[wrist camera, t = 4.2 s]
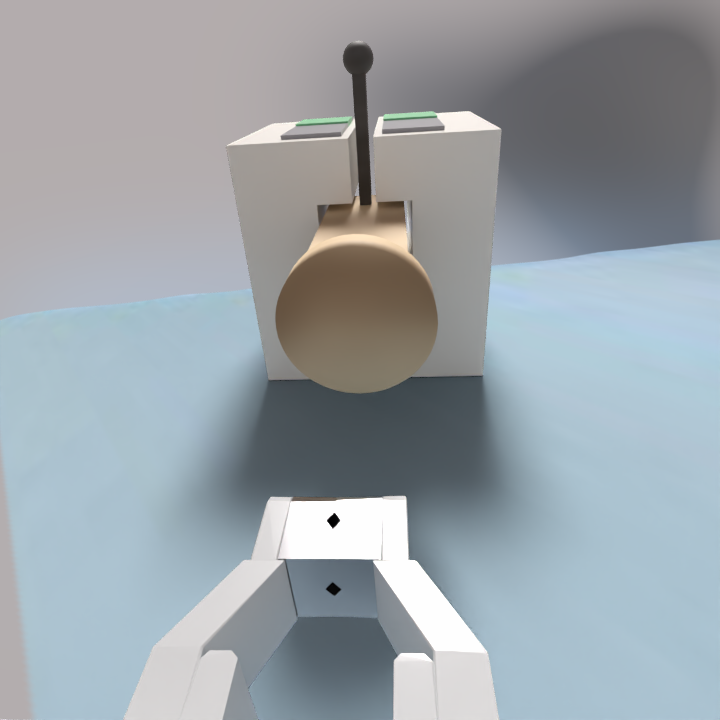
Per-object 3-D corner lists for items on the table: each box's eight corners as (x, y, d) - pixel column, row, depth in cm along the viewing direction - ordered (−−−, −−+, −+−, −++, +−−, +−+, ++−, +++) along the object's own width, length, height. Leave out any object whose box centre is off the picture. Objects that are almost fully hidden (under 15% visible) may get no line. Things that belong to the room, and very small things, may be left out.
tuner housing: (482, 375, 30) (501, 121, 23) (268, 380, 31) (224, 138, 24) (460, 301, 39) (469, 106, 32) (297, 306, 40) (272, 118, 33)
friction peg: (436, 392, 20) (444, 14, 13) (287, 394, 20) (227, 31, 14) (420, 277, 30) (421, 38, 24) (323, 280, 31) (299, 47, 25)
